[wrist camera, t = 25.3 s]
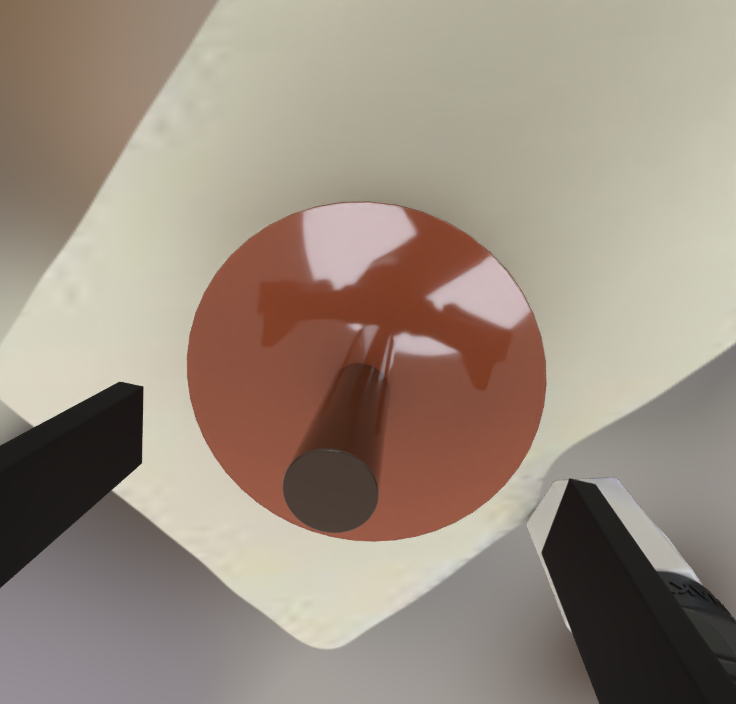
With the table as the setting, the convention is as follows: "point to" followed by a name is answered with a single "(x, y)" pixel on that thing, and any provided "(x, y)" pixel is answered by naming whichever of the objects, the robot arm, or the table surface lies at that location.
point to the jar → (652, 545)
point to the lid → (366, 371)
